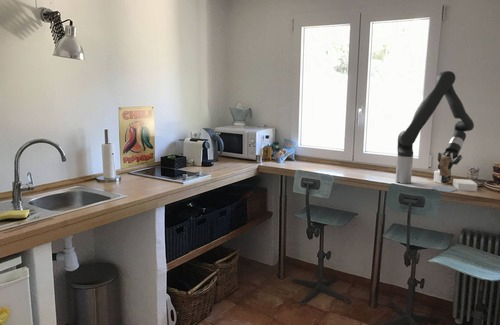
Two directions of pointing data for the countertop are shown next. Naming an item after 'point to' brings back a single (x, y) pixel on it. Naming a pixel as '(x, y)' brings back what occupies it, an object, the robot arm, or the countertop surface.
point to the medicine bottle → (441, 177)
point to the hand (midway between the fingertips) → (444, 168)
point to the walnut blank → (445, 166)
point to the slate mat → (444, 189)
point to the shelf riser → (464, 185)
